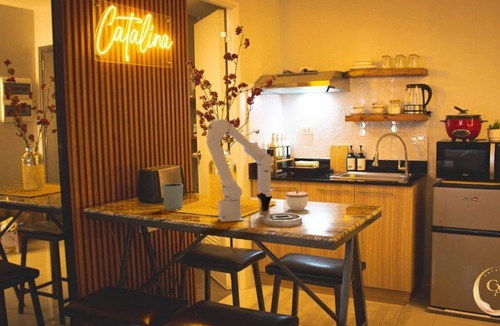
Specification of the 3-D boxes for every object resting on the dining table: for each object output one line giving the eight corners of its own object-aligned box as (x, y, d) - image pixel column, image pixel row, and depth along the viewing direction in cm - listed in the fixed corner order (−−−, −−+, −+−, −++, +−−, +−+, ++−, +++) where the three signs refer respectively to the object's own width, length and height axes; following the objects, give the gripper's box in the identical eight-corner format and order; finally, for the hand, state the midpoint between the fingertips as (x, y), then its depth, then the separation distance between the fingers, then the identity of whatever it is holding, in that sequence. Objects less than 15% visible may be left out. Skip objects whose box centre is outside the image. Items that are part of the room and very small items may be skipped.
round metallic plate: (268, 227, 205) (268, 221, 205) (259, 219, 221) (259, 214, 221) (306, 225, 209) (306, 219, 208) (294, 217, 224) (294, 211, 224)
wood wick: (260, 215, 226) (260, 197, 225) (259, 214, 228) (259, 196, 227) (269, 215, 227) (269, 197, 226) (268, 214, 229) (268, 196, 228)
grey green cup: (185, 207, 255) (185, 183, 254) (181, 210, 245) (180, 186, 244) (165, 207, 256) (165, 183, 255) (160, 210, 246) (159, 186, 245)
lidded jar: (282, 208, 246) (282, 189, 245) (302, 206, 250) (302, 187, 249) (291, 212, 236) (291, 192, 235) (312, 210, 240) (312, 190, 239)
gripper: (277, 181, 220) (277, 212, 221) (268, 177, 234) (269, 207, 235) (261, 182, 218) (261, 213, 219) (253, 178, 232) (254, 207, 234)
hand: (264, 210), depth 227 cm, fingers closed on wood wick, 2 cm apart
